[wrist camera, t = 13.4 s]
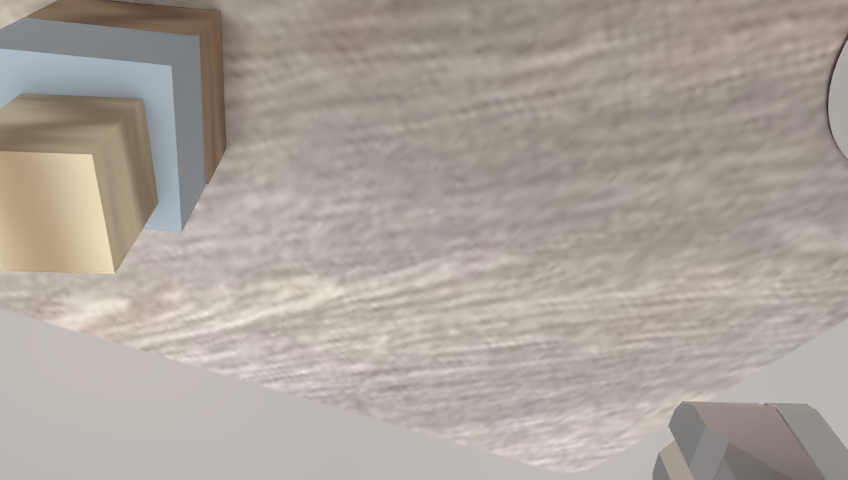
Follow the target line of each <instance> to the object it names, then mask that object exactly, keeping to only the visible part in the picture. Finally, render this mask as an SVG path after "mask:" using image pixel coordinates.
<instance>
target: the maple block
mask: <svg viewBox="0 0 848 480" xmlns="http://www.w3.org/2000/svg"><path fill="white" fill-rule="evenodd" d="M158 203H159V202H158V196H157V189H156V182H155V175H154V168H153V161H152V154H151V148H150V141H149V134H148V127H147V120H146V113H145V106H144V100H143V98H120V97H96V96H73V95H49V94H26V93H21V94H20V95H19V96H17V97H16V98H14V99H13V100H11V101H10V102H9V103H7V104H6V105H4V106H3V107H2V108H0V271H24V272H63V273H102V274H115V273H116V271H117V270H118V268H119V266H120V265H121V263H122V261H123V260H124V258H125V257H126V255H127V253H128V252H129V250H130V248H131V247H132V245H133V244H134V242H135V240H136V239H137V237H138V236H139V234H140V232H141V231H142V229H143V227H144V226H145V224H146V223H147V221H148V219H149V218H150V216H151V214H152V213H153V211H154V210H155V208H156V206H157V205H158Z"/></svg>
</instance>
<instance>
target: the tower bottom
mask: <svg viewBox="0 0 848 480" xmlns="http://www.w3.org/2000/svg"><path fill="white" fill-rule="evenodd" d="M25 18H34V19H43V20H53V21H62V22H72V23H81V24H91V25H100V26H110V27H119V28H129V29H138V30H148V31H157V32H167V33H176V34H186V35H195V36H199V41H200V65H201V90H202V114H203V139H204V163H205V184H209V182H210V180H211V178H212V176H213V174H214V172H215V170H216V168H217V166H218V164H219V162H220V160H221V158H222V156H223V154H224V152H225V150H226V132H225V106H224V81H223V56H222V31H221V11H215V10H204V9H194V8H183V7H172V6H162V5H151V4H141V3H130V2H120V1H109V0H58V1H56V2H54V3H52V4H50V5H48V6H46V7H44V8H42V9H40V10H38V11H36V12H34V13H32V14H30V15H28V16H27V17H25Z"/></svg>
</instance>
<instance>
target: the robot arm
mask: <svg viewBox="0 0 848 480" xmlns="http://www.w3.org/2000/svg"><path fill="white" fill-rule="evenodd" d="M828 113H829V122H830V127H831V130H832V134H833V137H834V139H835V141H836V143H837V145H838V147H839V149H840V150H841V152H842V153H843V155H844V156H845V157H846V158H847V159H848V40H847V42H846V44H845V46H844V48H843V50H842V52H841V54H840V57H839V59H838V61H837V64H836V67H835V70H834V73H833V77H832V81H831V85H830V91H829V101H828ZM669 428H670V429H671V432H672V434H673V436H674V438H675V441H673V442H672V443H671V444H669V445H668V446H667V447H666V448H664V449H663V450H662V451H660V452H659V454H658V457H657V460H656V464H655V467H654V470H653V480H848V450H847V449H846V447H845V446H844V444H843V443H842V442H841V441H840V439H839V438H838V437H837V435H836V434H835V433H834V431H833V430H832V429H831V427H830V426H829V425H828V423H827V422H826V421H825V419H824V418H823V417H822V416H821V414H820V413H819V412H818V411H817V410H816V409H814V408H812V407H811V406H809V405H808V404H790V403H789V404H787V403H765V404H758V403H723V402H722V403H721V402H685V401H683V402H682V403H681V404H680V405H679V406H678V407H677V408H676V409H675V410H674V413H673V415H672V418H671V421H670V423H669Z"/></svg>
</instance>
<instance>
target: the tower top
mask: <svg viewBox="0 0 848 480" xmlns="http://www.w3.org/2000/svg"><path fill="white" fill-rule="evenodd" d="M21 93H26V94H49V95H73V96H96V97H120V98H143V100H144V106H145V113H146V120H147V127H148V134H149V141H150V148H151V154H152V161H153V168H154V175H155V182H156V189H157V196H158V202H159V203H158V205H157V206H156V208H155V210H154V211H153V213H152V214H151V216H150V218H149V219H148V221H147V223H146V224H145V226H144V227H143V229H149V230H162V231H174V232H182V231H183V229H184V227H185V225H186V223H187V221H188V219H189V217H190V215H191V213H192V211H193V209H194V207H195V205H196V203H197V202H198V200H199V198H200V196H201V194H202V192H203V190H204V188H205V163H204V139H203V114H202V90H201V65H200V41H199V36H195V35H186V34H176V33H167V32H157V31H148V30H138V29H129V28H119V27H110V26H100V25H91V24H81V23H72V22H62V21H53V20H43V19H34V18H25V17H24V18H22V19H20V20H18V21H16V22H14V23H12V24H10V25H8V26H6V27H4V28H2V29H0V108H2V107H3V106H4V105H6V104H7V103H9V102H10V101H11V100H13V99H14V98H16V97H17V96H19V95H20V94H21Z"/></svg>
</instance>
